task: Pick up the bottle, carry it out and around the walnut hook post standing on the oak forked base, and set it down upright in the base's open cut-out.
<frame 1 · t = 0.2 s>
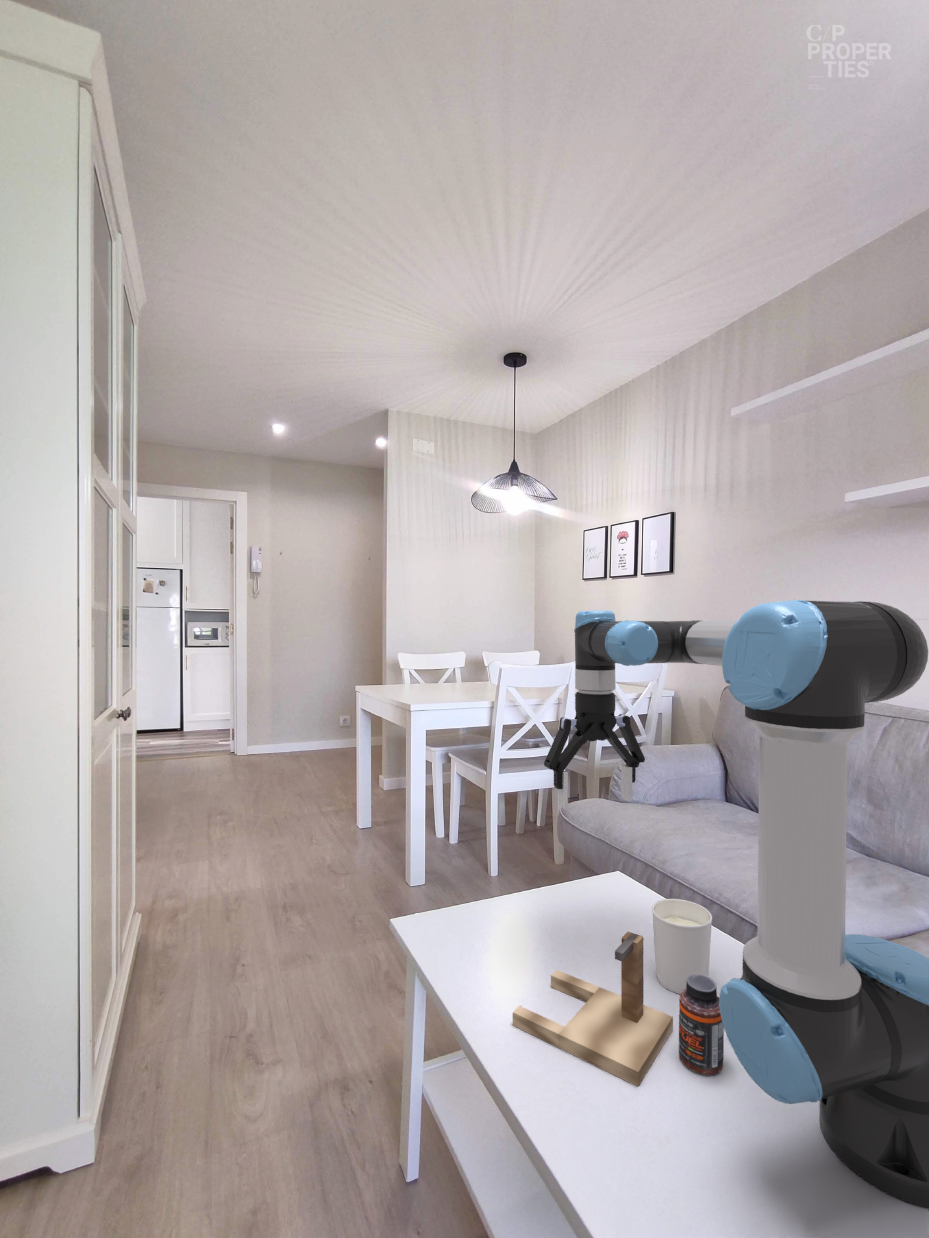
hand: (595, 802, 114), 28 cm above the table, fingers open, 13 cm apart
supplement bottle: (700, 1062, 85), on the table
oak forked base: (592, 1027, 92), on the table
hook post: (632, 1015, 91), resting on oak forked base
candle holder: (681, 982, 104), on the table
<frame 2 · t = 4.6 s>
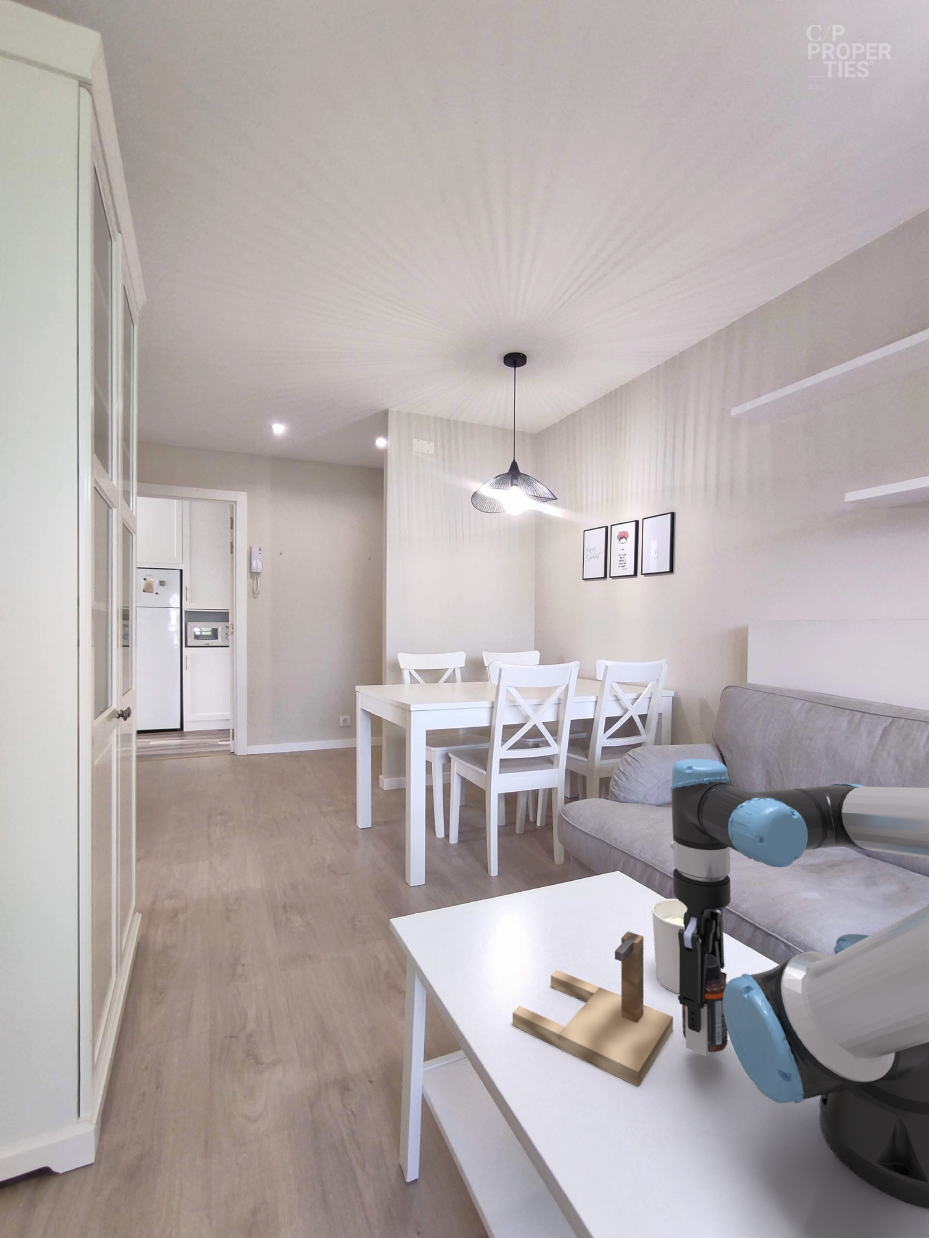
hand: (703, 1037, 84), 4 cm above the table, fingers closed on supplement bottle, 6 cm apart
supplement bottle: (705, 1041, 84), point 3 cm above the table, touching gripper
everything else where it was.
when the fingers open (2 cm above the table, at t = 10.1 s): supplement bottle drops 2 cm, on the table.
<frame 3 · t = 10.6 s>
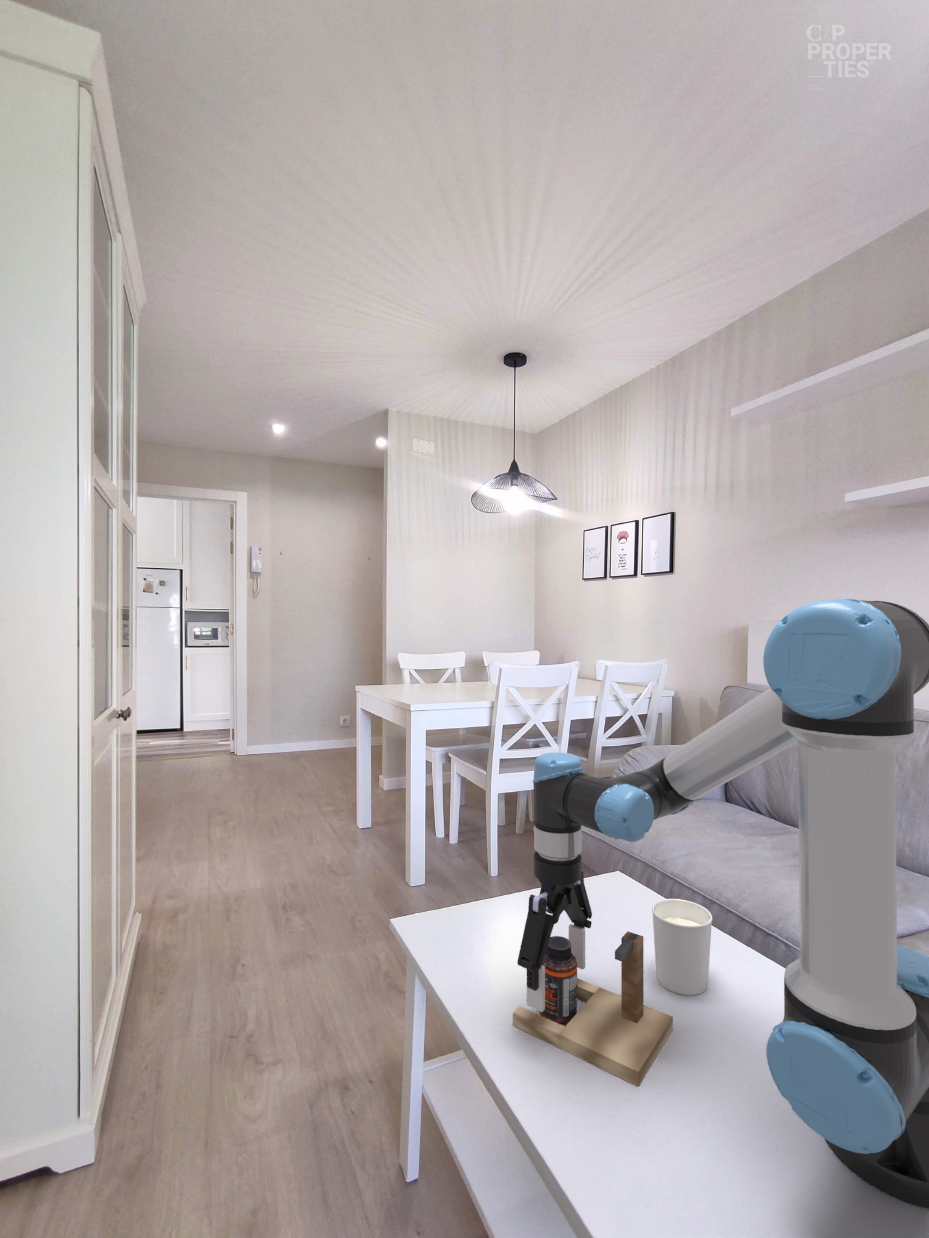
hand: (557, 985, 95), 4 cm above the table, fingers open, 13 cm apart
supplement bottle: (558, 1013, 95), on the table
everything else where it was.
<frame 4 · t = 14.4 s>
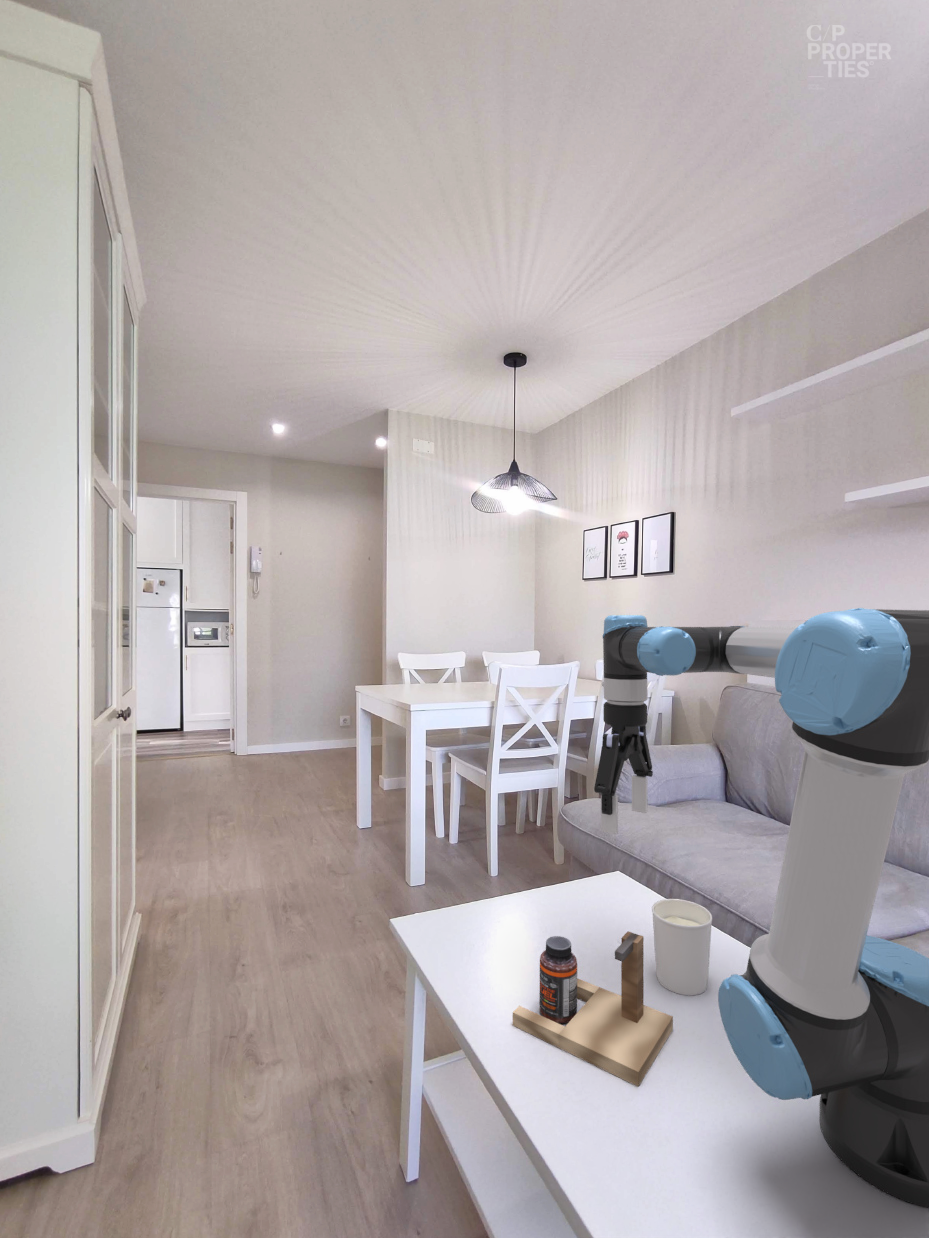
hand: (625, 821, 106), 27 cm above the table, fingers open, 13 cm apart
nothing on the table moved.
at the end: supplement bottle 0.2 cm from the target spot, on the table; supplement bottle tilted 0°; the gripper is holding nothing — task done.
